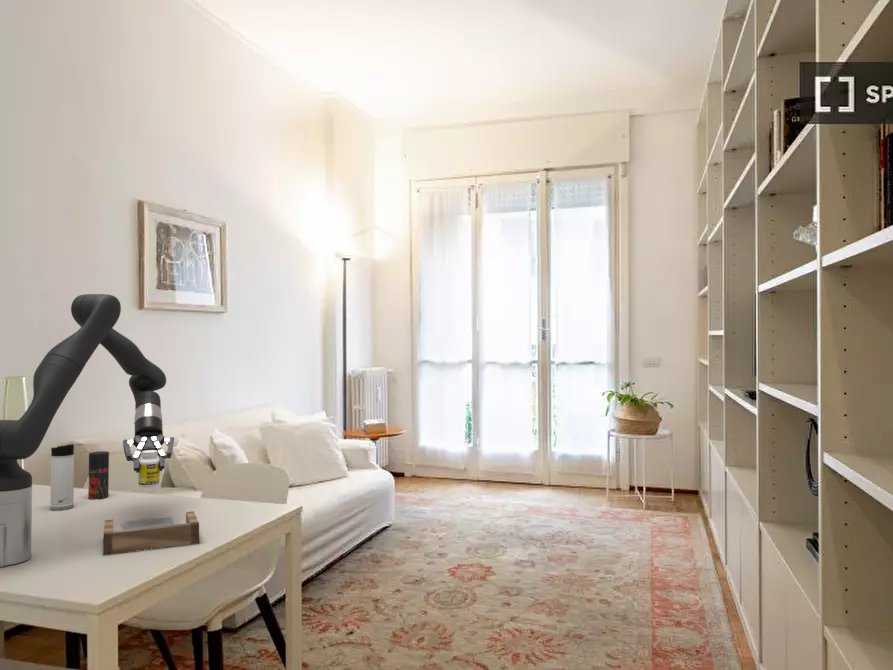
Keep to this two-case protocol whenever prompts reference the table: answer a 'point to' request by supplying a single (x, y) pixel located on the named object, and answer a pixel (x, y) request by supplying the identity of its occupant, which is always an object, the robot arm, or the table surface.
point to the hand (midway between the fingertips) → (149, 470)
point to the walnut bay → (150, 536)
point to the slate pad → (148, 523)
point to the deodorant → (98, 475)
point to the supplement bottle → (149, 469)
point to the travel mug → (62, 477)
